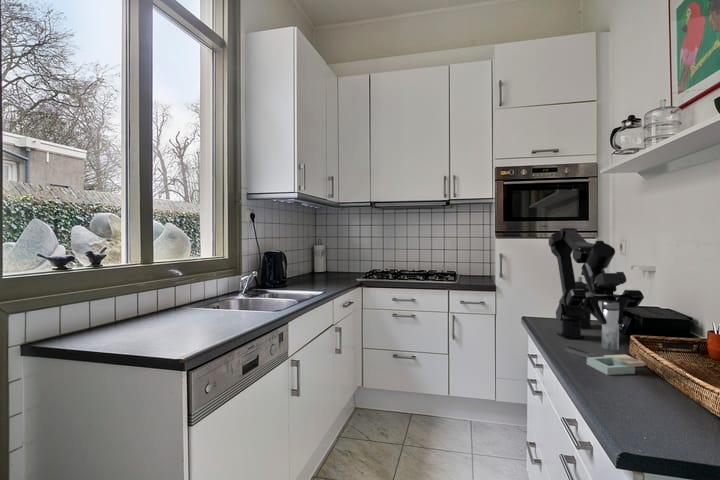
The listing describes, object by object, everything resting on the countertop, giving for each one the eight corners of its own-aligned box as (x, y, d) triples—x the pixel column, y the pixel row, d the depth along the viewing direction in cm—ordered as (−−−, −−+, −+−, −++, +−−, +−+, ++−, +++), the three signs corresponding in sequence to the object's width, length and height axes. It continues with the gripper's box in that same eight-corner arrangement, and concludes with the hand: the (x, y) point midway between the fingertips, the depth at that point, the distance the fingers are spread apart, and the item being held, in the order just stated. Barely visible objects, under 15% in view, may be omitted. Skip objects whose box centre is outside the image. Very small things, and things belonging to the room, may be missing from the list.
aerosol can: (594, 329, 145) (595, 278, 144) (571, 329, 146) (571, 278, 146) (586, 324, 153) (586, 275, 152) (564, 323, 154) (564, 275, 154)
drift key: (565, 351, 121) (565, 347, 121) (569, 350, 122) (569, 346, 121) (590, 358, 114) (590, 355, 113) (593, 357, 114) (594, 354, 114)
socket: (586, 364, 109) (586, 357, 109) (612, 362, 110) (612, 356, 110) (607, 375, 101) (607, 367, 101) (634, 373, 102) (634, 366, 102)
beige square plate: (603, 358, 113) (603, 355, 113) (625, 357, 114) (625, 354, 114) (621, 367, 106) (621, 363, 106) (644, 366, 107) (644, 362, 107)
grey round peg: (598, 345, 107) (598, 300, 107) (611, 345, 108) (611, 300, 107) (608, 350, 103) (609, 303, 103) (622, 349, 104) (623, 303, 103)
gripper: (569, 261, 110) (583, 307, 100) (640, 262, 107) (663, 309, 96) (560, 284, 118) (573, 328, 108) (626, 285, 115) (646, 330, 104)
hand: (612, 324), depth 104 cm, fingers closed on grey round peg, 4 cm apart
